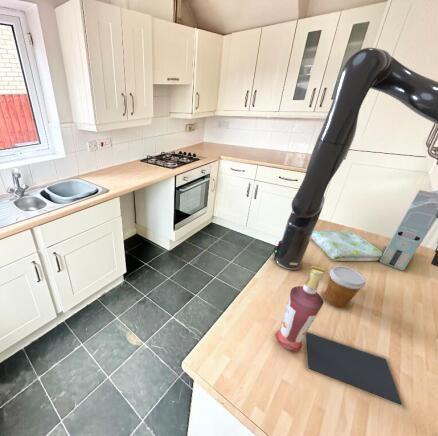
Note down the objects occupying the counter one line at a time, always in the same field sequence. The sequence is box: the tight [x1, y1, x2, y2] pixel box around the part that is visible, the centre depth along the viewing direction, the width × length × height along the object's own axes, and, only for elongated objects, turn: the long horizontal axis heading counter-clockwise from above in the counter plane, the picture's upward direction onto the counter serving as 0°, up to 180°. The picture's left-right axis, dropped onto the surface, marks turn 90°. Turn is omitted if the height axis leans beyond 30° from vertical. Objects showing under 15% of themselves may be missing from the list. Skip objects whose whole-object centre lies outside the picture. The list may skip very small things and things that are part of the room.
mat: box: [305, 331, 403, 405], centre depth 66 cm, size 19×12×1 cm, turn 63°
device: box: [378, 189, 438, 272], centre depth 97 cm, size 16×8×30 cm, turn 129°
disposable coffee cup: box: [324, 265, 366, 309], centre depth 82 cm, size 10×10×12 cm
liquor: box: [275, 265, 325, 352], centre depth 65 cm, size 7×7×28 cm
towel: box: [310, 230, 383, 262], centre depth 110 cm, size 18×21×5 cm
